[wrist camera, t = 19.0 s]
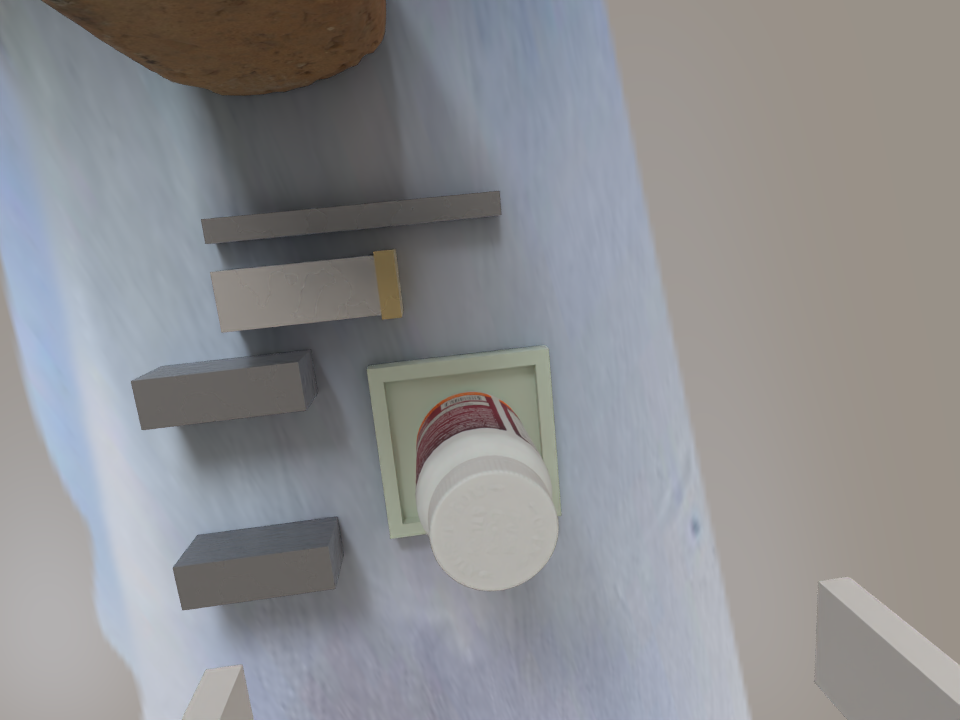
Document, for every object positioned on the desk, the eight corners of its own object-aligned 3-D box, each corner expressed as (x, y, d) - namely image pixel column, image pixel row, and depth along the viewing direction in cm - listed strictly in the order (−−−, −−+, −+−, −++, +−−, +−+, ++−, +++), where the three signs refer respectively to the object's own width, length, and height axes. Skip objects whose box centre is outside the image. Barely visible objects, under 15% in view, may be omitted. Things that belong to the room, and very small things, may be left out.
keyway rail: (211, 220, 31) (200, 219, 30) (495, 193, 32) (499, 190, 31) (215, 243, 32) (205, 244, 30) (497, 215, 33) (501, 214, 31)
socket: (161, 366, 32) (130, 381, 29) (310, 349, 33) (297, 362, 30) (205, 574, 35) (182, 610, 32) (343, 555, 36) (335, 588, 32)
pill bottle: (397, 462, 34) (385, 567, 23) (448, 369, 34) (461, 431, 22) (491, 507, 35) (523, 628, 24) (542, 417, 35) (599, 500, 24)
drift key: (225, 266, 32) (207, 268, 29) (395, 248, 32) (393, 249, 30) (237, 329, 32) (220, 337, 30) (403, 311, 33) (402, 317, 30)
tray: (368, 365, 34) (366, 369, 32) (544, 345, 34) (548, 348, 33) (391, 529, 36) (390, 539, 34) (556, 506, 36) (561, 515, 35)
